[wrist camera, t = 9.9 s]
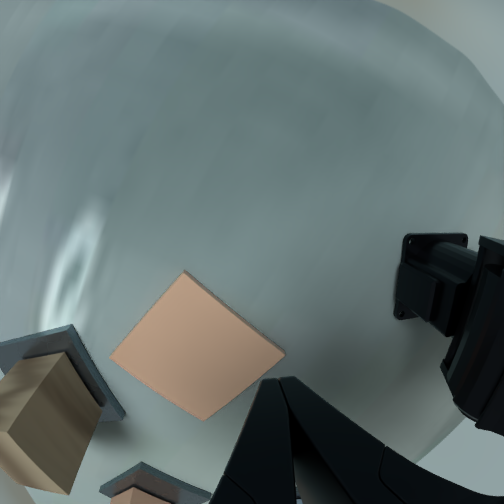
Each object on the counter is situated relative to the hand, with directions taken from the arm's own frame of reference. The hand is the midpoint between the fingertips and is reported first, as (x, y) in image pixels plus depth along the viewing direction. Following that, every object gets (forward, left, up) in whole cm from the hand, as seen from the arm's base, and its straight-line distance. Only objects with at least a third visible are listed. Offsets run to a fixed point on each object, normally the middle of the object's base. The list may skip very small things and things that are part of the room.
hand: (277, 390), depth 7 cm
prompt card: (+4, +7, -12) cm, 14 cm away
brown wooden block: (+16, +10, -11) cm, 21 cm away
